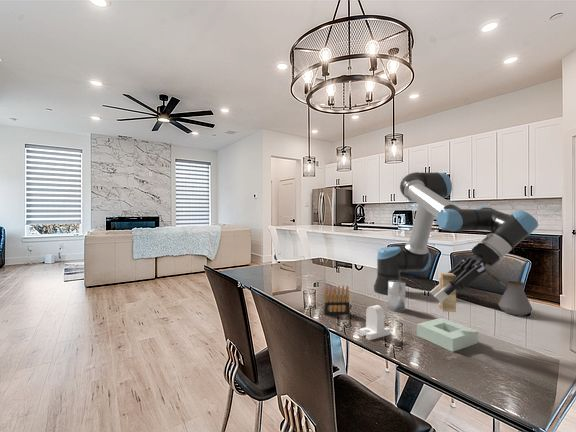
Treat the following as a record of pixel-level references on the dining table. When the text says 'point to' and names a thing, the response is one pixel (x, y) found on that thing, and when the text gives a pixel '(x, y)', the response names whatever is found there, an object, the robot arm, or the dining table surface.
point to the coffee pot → (514, 298)
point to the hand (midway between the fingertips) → (435, 297)
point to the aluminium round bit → (396, 295)
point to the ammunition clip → (336, 301)
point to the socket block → (447, 334)
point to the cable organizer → (374, 323)
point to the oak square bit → (450, 301)
